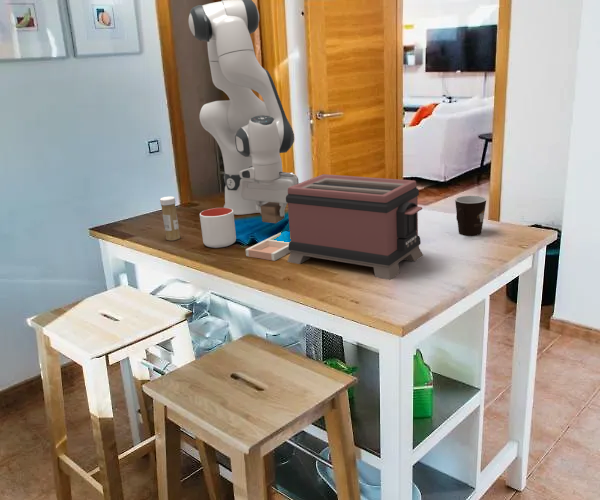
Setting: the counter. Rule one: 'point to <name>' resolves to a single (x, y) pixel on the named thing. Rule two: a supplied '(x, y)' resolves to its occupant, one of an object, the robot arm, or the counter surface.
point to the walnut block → (271, 212)
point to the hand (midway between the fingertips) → (272, 215)
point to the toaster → (355, 221)
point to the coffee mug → (470, 214)
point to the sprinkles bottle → (170, 218)
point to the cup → (218, 227)
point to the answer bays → (269, 249)
